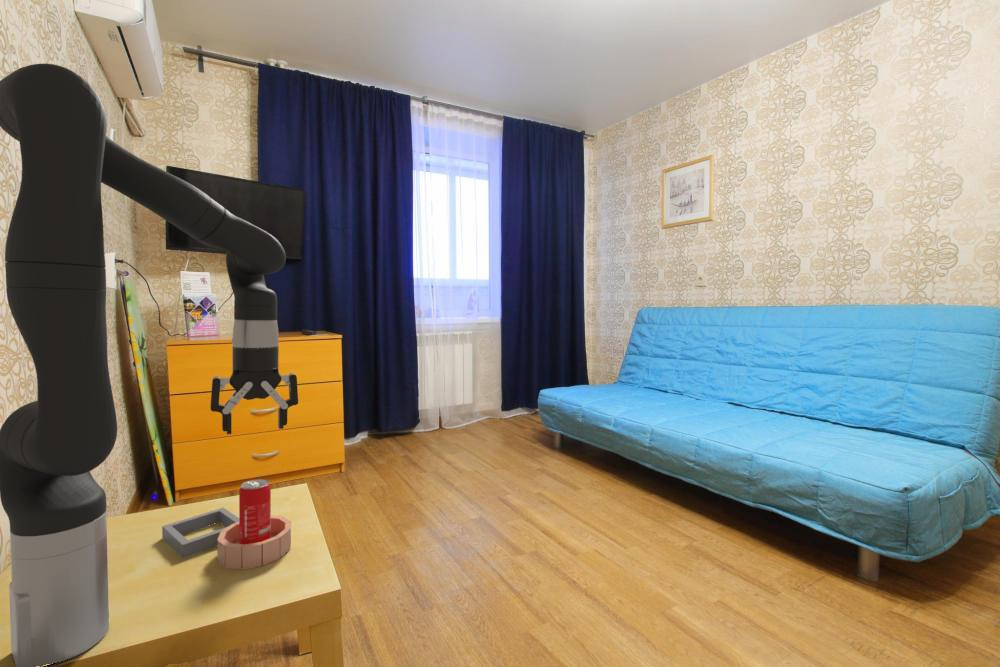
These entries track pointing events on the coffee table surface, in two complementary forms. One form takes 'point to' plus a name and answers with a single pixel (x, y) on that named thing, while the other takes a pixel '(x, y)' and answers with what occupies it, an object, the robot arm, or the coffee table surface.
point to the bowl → (254, 546)
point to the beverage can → (254, 511)
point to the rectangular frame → (177, 529)
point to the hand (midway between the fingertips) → (255, 430)
